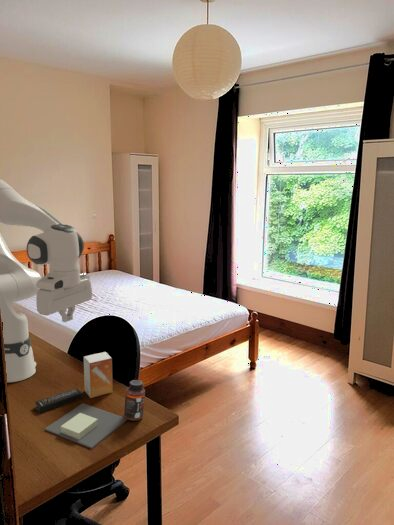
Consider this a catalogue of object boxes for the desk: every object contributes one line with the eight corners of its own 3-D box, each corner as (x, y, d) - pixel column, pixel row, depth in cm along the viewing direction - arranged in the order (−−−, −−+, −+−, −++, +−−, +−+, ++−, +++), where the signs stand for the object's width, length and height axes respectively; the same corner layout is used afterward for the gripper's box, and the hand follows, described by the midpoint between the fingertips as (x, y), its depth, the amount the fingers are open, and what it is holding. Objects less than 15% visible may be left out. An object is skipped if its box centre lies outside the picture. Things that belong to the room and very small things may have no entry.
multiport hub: (82, 399, 140) (82, 393, 139) (40, 414, 131) (39, 407, 130) (77, 394, 143) (77, 387, 143) (35, 408, 134) (34, 401, 133)
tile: (80, 418, 127) (60, 432, 120) (80, 412, 127) (60, 426, 120) (98, 425, 124) (79, 439, 117) (97, 419, 124) (78, 433, 117)
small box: (90, 399, 139) (89, 363, 137) (84, 390, 145) (82, 356, 142) (113, 392, 144) (112, 357, 141) (106, 384, 149) (105, 351, 146)
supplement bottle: (142, 422, 126) (145, 387, 125) (123, 421, 126) (125, 386, 124) (143, 412, 132) (146, 378, 131) (124, 411, 132) (127, 377, 130)
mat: (44, 430, 122) (44, 428, 122) (82, 404, 136) (82, 403, 136) (91, 449, 114) (91, 447, 114) (127, 419, 128) (127, 418, 128)
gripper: (81, 270, 137) (82, 310, 140) (31, 283, 119) (34, 328, 122) (96, 272, 134) (97, 313, 137) (47, 286, 117) (50, 332, 119)
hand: (67, 320), depth 130 cm, fingers closed
